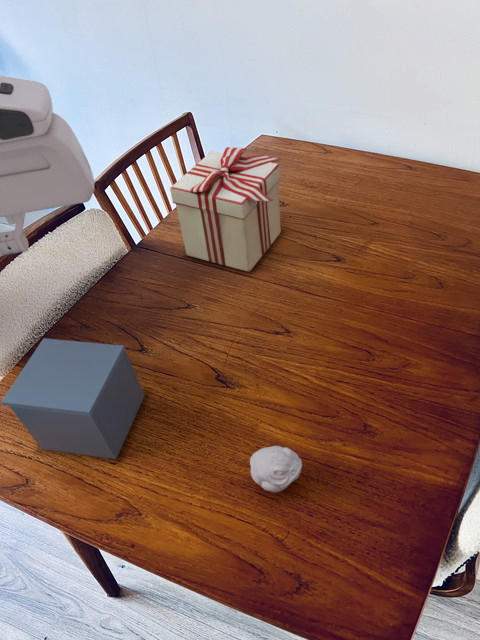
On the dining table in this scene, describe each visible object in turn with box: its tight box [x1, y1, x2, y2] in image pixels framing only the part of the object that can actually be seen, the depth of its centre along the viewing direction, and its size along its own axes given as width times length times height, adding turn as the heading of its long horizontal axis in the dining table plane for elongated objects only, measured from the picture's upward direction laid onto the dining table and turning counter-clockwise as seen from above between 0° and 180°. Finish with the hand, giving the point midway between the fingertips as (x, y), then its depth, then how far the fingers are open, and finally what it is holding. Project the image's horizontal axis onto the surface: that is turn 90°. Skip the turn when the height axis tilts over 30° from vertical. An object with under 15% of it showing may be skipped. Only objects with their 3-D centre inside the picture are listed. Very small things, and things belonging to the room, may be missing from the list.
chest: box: [9, 349, 145, 460], centre depth 74 cm, size 12×12×10 cm
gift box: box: [169, 146, 283, 273], centre depth 98 cm, size 17×18×17 cm
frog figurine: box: [249, 445, 303, 493], centre depth 66 cm, size 6×7×7 cm
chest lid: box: [0, 338, 126, 416], centre depth 70 cm, size 12×12×1 cm
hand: (14, 250), depth 54 cm, fingers closed
